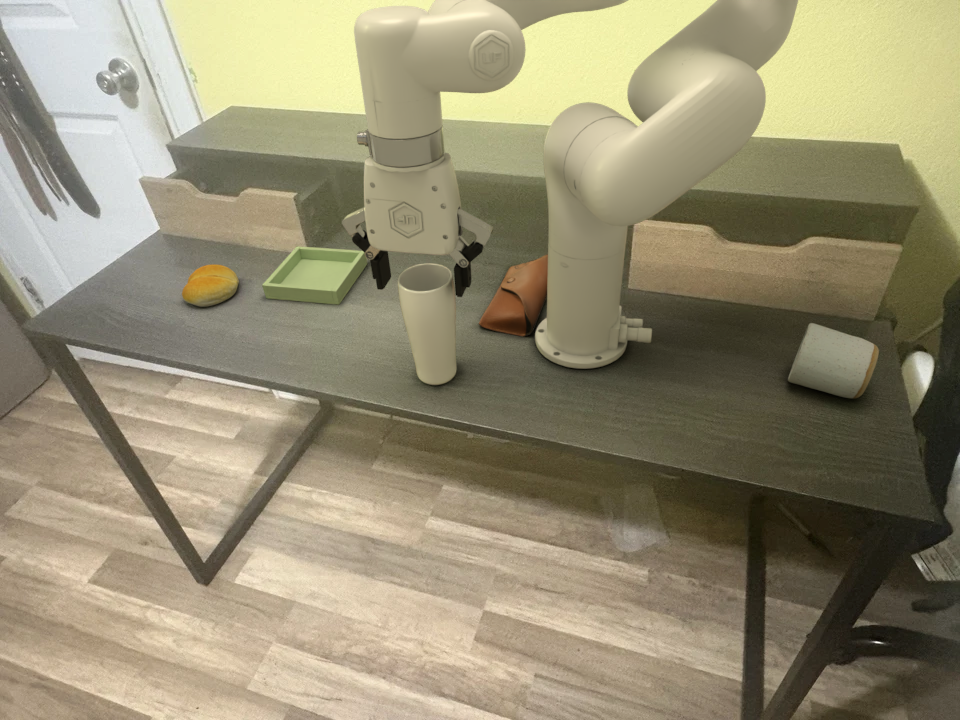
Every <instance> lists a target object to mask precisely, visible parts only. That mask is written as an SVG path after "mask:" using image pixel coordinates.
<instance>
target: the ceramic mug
mask: <svg viewBox="0 0 960 720" xmlns="http://www.w3.org/2000/svg"><path fill="white" fill-rule="evenodd" d="M879 353H880V351H879V348H878V346H877V345H876V344H875V343H873V342H871V341H869V340H866V339H864V338H862V337H859V336H855V335H851V334H847V333H845V332H842V331H839V330H835V329H832V328H830V327H826V326H824V325H821V324H817V323H813V322H810V323H809V324H808V325H807V327H806V330H805V333H804V335H803V337H802V340H801V342H800V345H799V348H798V350H797V353H796V356H795V358H794V361H793V363H792V366H791V369H790V372H789V375H788V378H787V381H788V383H791V384H795V385H799V386H802V387H805V388H809V389H812V390H815V391H816V390H817V391H819V392H824V393H827V394H830V395H833V396H837V397H841V398H846V399H858V398H860V397H862V395H863V394H864V393H865V391H866V389H867V388H868V385H869V383H870V381H871V379H872V376H873V373H874V370H875V368H876V365H877V362H878V358H879Z"/></svg>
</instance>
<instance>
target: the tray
mask: <svg viewBox="0 0 960 720" xmlns="http://www.w3.org/2000/svg"><path fill="white" fill-rule="evenodd" d="M368 264H369V263H368V259H367V258H366V257H365V253H364V252H363V251H362V250H357V249H343V248H327V247H311V246H300V245H299V246H298V245H296V247H295V248H293V250H292V251H290V253H289V254H288V255H287V256H286V257H285V259H284V260H283V261H282V262H281V263H280V264H279V265H278V266H277V268H276V269H275V270H274V271H273V272H272V273H271V274H270V275H269V277H268V278H267V279H266V280H265V281H264V282H263V283H262V285H261V286H262V290H263V294H264V296H265V299H270V300H282V301H292V302H303V303H314V304H316V303H317V304H328V305H337V306H338V305H340V304H341V303H342V301H343V300H344V298H345V297H346V296H347V294H348V293H349V291H350V290H351V288H352V287H353V286H354V284H355V283H356V281H357V280H358V278H359V277H360V275H361V274H362V273H363V271H364V270H365V268H366V267H367V265H368Z"/></svg>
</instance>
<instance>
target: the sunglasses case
mask: <svg viewBox="0 0 960 720" xmlns="http://www.w3.org/2000/svg"><path fill="white" fill-rule="evenodd" d="M547 281H548V253H545V254H544V255H542V256H541V257H538V258H537V259H533V260H529V261H526V262H523V263H520V264H516V265H511V266H510V267H509V268H508V269H507V270H506V272H505V275H504V278H502V281H501V283H500V284H499V287H498V288H497V290H496V292H495V293H494V296H493V297H492V299H491V301H490V302H489V304H488V306H487V308H486V309H485V311H484V312H483V314H482V316H481V318H480V319H479V322H478V325H479V326H480V327H481V328H483V329H486V330H490V331H493V332H496V333H500V334H507V335H512V336H517V337H522V338H523V337H527V336H529V335H531V333H533V331H534V329H535V327H536V325H537V321H538V320H539V318H540V317H539V316H540V314H541V312H542V310H543V307H544V305H545V302H546V301H547Z"/></svg>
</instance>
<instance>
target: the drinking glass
mask: <svg viewBox="0 0 960 720" xmlns="http://www.w3.org/2000/svg"><path fill="white" fill-rule="evenodd" d="M396 283H397V294H398V300H399V306H400V312H401V315H402V319H403V323H404V326H405V330H406V334H407V338H408V341H409V345H410V349H411V353H412V354H411V355H412V357H413V362H414V366H415V372H416V376H417V377H418V379H419V380H420V381H421V383H424V384H427V385H432V386H439V385H443V384H447V383H448V382H450V381H452V379H454V377H455V376H456V374H457V351H456V350H457V349H456V348H457V300H456V298H457V297H456V293H455V280H454V274H453V272H452V271H451V270H450V269H449V268H448V267H446V266H445V265H442V264H440V263H439V264H438V263H429V262H428V263H427V262H426V263H419V264H414V265H412V266H409V267H407V268H406V269H405V268H404V270H402V271H401V272H400V273H399V275H398V277H397V279H396Z"/></svg>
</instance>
